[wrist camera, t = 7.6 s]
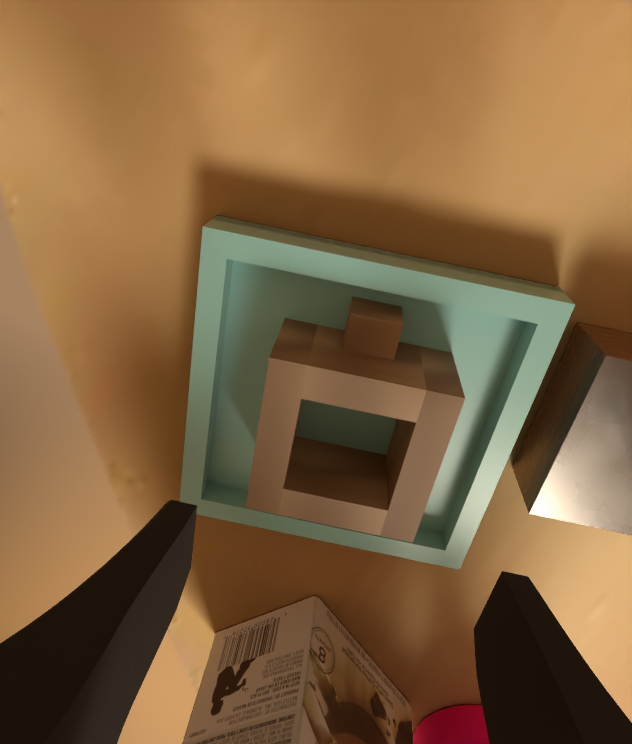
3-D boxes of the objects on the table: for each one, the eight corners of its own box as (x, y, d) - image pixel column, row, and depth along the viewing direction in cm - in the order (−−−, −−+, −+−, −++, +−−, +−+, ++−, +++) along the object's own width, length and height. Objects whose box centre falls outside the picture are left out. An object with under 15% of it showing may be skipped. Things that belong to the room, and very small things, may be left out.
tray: (559, 287, 17) (575, 304, 16) (454, 539, 22) (459, 570, 21) (216, 215, 17) (202, 226, 16) (191, 483, 22) (178, 510, 21)
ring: (463, 319, 17) (478, 360, 15) (408, 484, 21) (412, 542, 18) (290, 283, 17) (275, 318, 15) (262, 453, 21) (245, 507, 18)
